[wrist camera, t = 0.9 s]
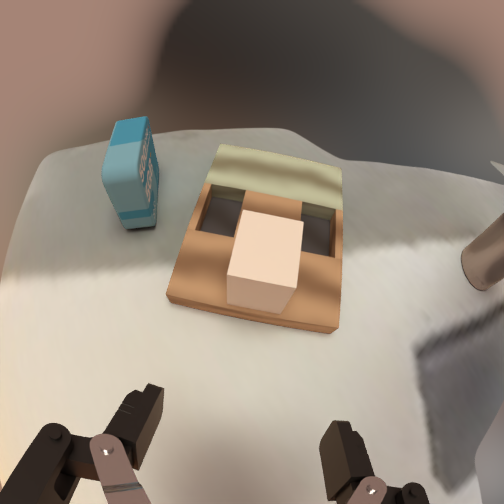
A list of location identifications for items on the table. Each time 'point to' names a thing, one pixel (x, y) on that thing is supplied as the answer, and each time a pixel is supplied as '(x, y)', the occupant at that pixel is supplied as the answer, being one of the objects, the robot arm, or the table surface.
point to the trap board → (272, 203)
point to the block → (264, 262)
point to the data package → (132, 173)
